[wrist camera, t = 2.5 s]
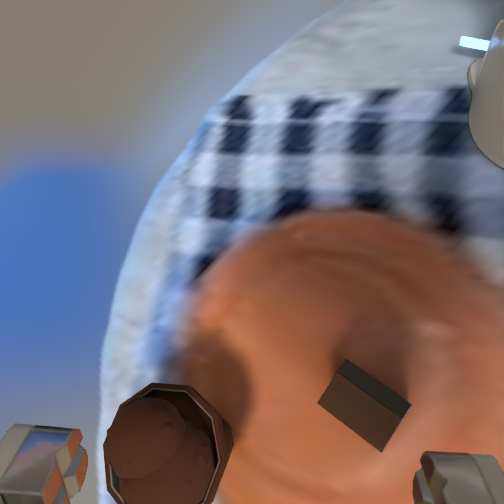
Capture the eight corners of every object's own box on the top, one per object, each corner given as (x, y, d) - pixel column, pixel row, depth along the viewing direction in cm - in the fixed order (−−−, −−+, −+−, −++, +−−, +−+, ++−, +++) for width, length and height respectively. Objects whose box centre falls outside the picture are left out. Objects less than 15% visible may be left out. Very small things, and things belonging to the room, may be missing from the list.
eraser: (355, 365, 41) (346, 358, 32) (408, 402, 38) (412, 404, 30) (332, 401, 40) (316, 403, 32) (384, 440, 38) (381, 452, 30)
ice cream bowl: (143, 422, 45) (36, 434, 32) (227, 364, 44) (154, 351, 31) (186, 524, 41) (83, 588, 27) (280, 462, 40) (222, 496, 26)
